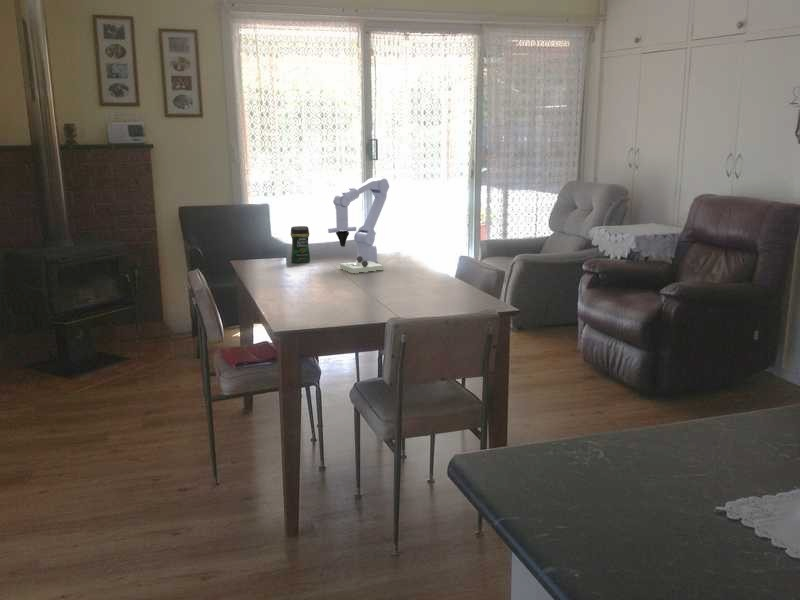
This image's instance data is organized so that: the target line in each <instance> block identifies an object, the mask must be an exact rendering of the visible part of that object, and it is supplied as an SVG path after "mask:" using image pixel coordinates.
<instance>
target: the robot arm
mask: <svg viewBox="0 0 800 600" xmlns="http://www.w3.org/2000/svg"><path fill="white" fill-rule="evenodd" d="M389 189H390V184H389V180H388V179H387V178H383V177H382V178H379V177H370V178H369V179H366V181H365V182H363V183H362V184H360V185H359V186H357V187H356V188H355V187H352V186H351V187H348V190H346V191H342V192H341V194H339V193H338V194H336V195H335V196H334V198H333V202H332V203H333V204H334V207H335V215H336V218H335V219H336V227H332V228H331V227H330V228H328V229H327V230H328V231H327V233H329V234H332V233H335V235H336V236H337V239H338V240H339V245H340V247H341V248H345V247H346V242H347V239H348V237H349V235H350V232H355V233H354V236H353V237H354V238H353V240H354V242H355V244H356V246H357V257H358V256H361V257H362V258H363V261H364V260H366V261H372V262H375V263H378V254H377V253H378V249H377V246H376V245H375V244H374V243H375V238H376V234H377V233H376V231H375V228H376V224H377V223H378V222H377V221H378V219H379V217H380V214H381V212H382V210H383V209H384V205H385V203H386V201H387V194H388V191H389ZM367 191H370V192H371V194H372V195H373V197H374V199H373V202H372V204H371V206H370V209H369V211H368V214H367V216H366V219H365V221H364V223H363V225H362V226H360V227H359V228H358V229H357V226H349V210H348V209H349V208H348V207H349V205H350V204H351V203H352V202H353V201H355V200H356V199H359V197H360V194H362V193H364V192H367ZM354 262H358V261H357V259H356V260H354Z"/></svg>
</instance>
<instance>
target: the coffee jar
mask: <svg viewBox="0 0 800 600" xmlns="http://www.w3.org/2000/svg"><path fill="white" fill-rule="evenodd" d="M309 230H310V229H309V227H308V226H304V225H298V226H297V225H296V226H291V228H290V237H291V240H292V241H291V258H290V260H291V262H292V263H295V264H300V263H301V264H303V263H305V264H306V263H310V262H311V256H310V246H309V237H310V231H309Z"/></svg>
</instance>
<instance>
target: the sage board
mask: <svg viewBox="0 0 800 600" xmlns="http://www.w3.org/2000/svg"><path fill="white" fill-rule="evenodd" d="M362 262H363V261H362ZM362 262H355V261H353V262H342V263H339V268H341V269H340V270H342V269H343V271H345V270H346V272H347V271H348V273H350V272H351V274H352V273H355V274H360V273H359V272H364V273H369V272H368V271H374V272H377V271H376V270H383V271H384V265H383V264H380V263H378V262H372V261H367V262H368V265H367V266H366V267H364V266H362ZM353 264H357V265H358V266H352V265H353Z"/></svg>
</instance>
